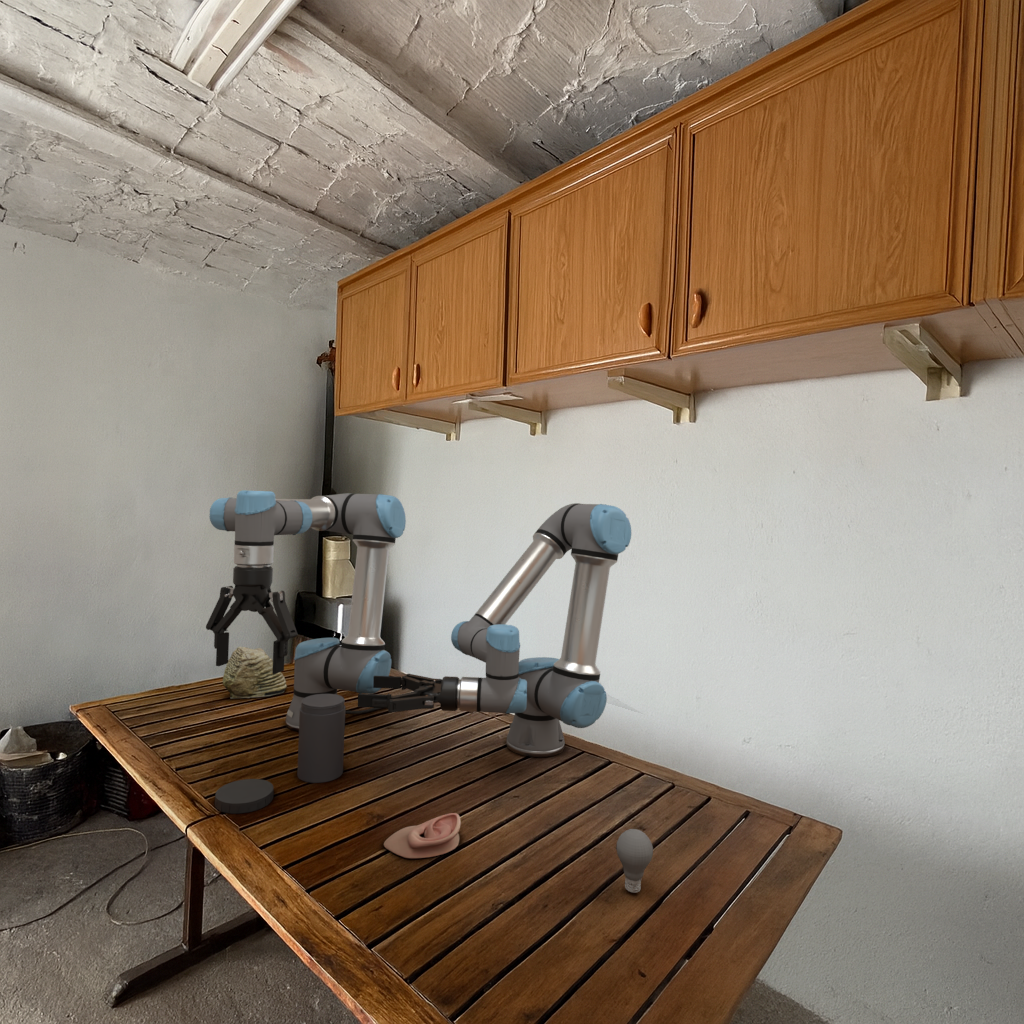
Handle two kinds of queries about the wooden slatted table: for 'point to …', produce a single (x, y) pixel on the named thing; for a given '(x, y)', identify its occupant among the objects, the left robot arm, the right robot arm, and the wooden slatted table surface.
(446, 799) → the wooden slatted table surface
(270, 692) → the fossil
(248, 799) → the lid
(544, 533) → the right robot arm
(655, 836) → the wooden slatted table surface
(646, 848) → the light bulb
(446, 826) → the anatomical model
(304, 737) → the jar
